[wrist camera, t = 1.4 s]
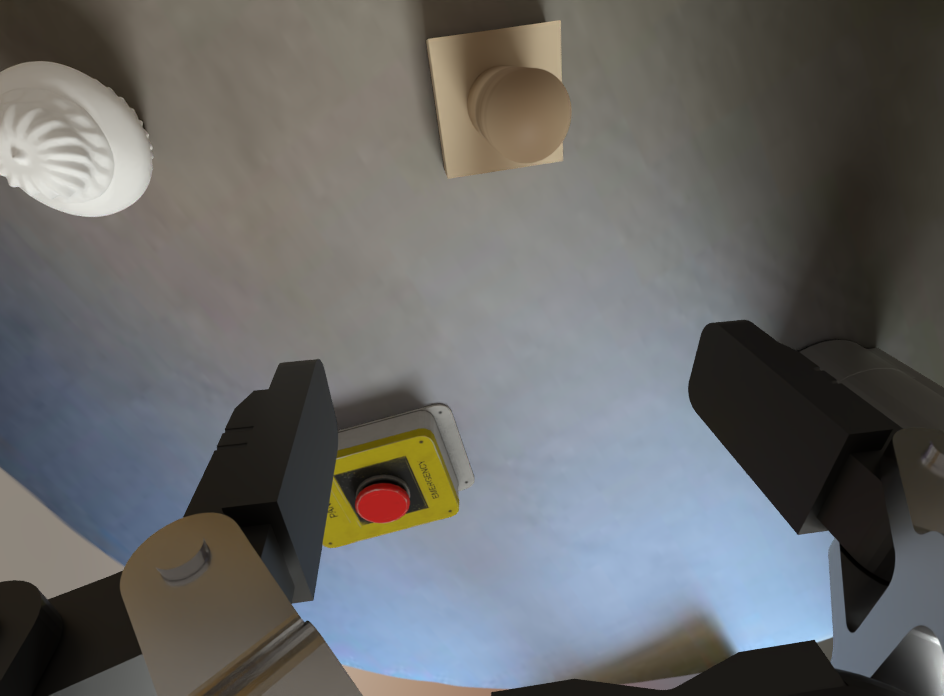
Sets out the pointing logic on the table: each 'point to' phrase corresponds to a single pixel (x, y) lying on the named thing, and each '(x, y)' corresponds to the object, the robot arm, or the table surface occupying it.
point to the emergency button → (396, 475)
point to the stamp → (499, 98)
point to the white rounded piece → (71, 140)
